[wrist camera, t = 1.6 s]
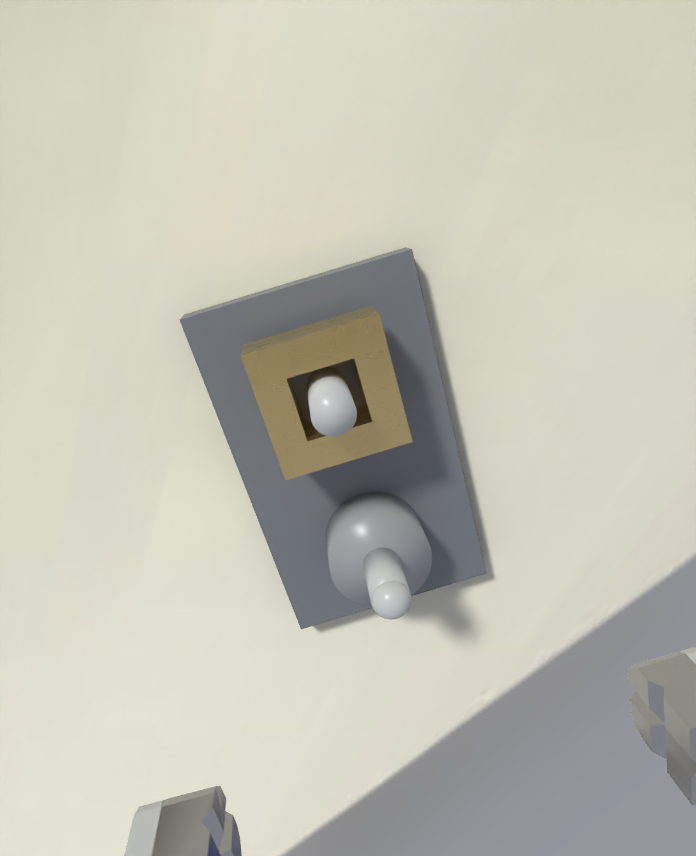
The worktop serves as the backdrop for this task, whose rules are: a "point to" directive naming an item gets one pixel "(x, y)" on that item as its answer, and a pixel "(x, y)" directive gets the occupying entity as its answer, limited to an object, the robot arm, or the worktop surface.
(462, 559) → the mount board
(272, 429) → the tan square ring
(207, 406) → the worktop surface
